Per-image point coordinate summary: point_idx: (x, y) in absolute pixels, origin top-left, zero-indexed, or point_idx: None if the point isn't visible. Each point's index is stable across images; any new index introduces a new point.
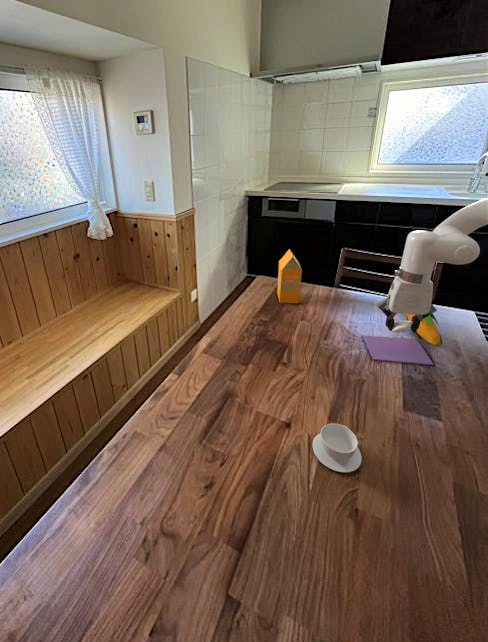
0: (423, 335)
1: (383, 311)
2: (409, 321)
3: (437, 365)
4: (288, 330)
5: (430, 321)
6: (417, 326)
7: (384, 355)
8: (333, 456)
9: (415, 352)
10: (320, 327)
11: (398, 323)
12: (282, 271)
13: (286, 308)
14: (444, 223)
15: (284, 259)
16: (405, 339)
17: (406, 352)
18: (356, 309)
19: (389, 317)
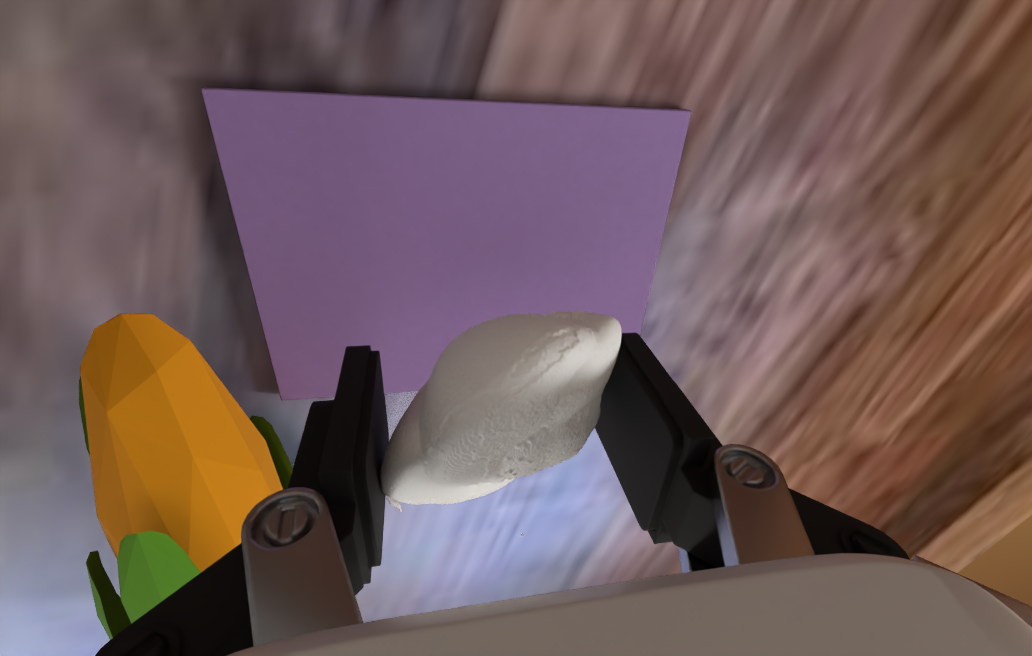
0: (235, 417)
1: (898, 554)
2: (448, 467)
3: (164, 92)
4: (997, 352)
5: (144, 566)
6: (339, 406)
7: (586, 171)
8: None
9: (329, 247)
10: (818, 409)
11: (578, 419)
12: None
13: (881, 514)
14: None
15: None
16: None
17: (401, 236)
18: (554, 582)
19: (755, 470)
